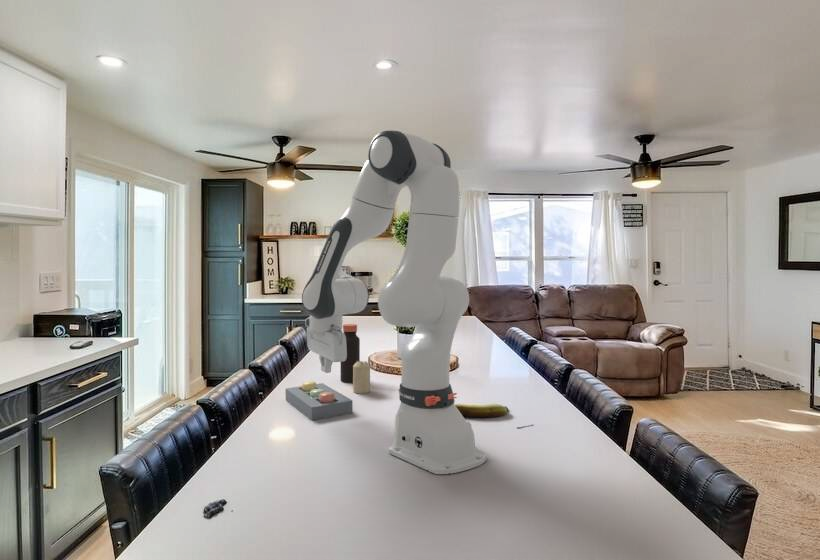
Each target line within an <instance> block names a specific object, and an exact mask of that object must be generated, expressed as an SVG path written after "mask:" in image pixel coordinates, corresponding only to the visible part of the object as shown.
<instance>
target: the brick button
mask: <svg viewBox="0 0 820 560" xmlns="http://www.w3.org/2000/svg"><path fill="white" fill-rule="evenodd" d="M319 402H320V403H321V404H324V403H330V402H334V393H332V392H323V393H320V394H319Z"/></svg>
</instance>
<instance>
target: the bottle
mask: <svg viewBox="0 0 820 560" xmlns="http://www.w3.org/2000/svg"><path fill="white" fill-rule="evenodd" d="M342 329H343V330H342V332H343V333H344V334H345V337H346V346H347V358H346V360H345V361H342V362H340V381H341V383H342V382H343V383H353V365H354V364H355V363H356V362H357V361H361V360H360V359H361V357H360V354H361V353H360V352H361V351H360V347H361V346H360V344H361V343H360V341H361V339H360V337H359V336H358V335H357V332H358V325H357V324H355V323H347V324H342Z"/></svg>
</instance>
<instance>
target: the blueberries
mask: <svg viewBox="0 0 820 560" xmlns="http://www.w3.org/2000/svg"><path fill="white" fill-rule="evenodd" d="M227 503H228V501H226V499H224V498H222V499H220V500H214V501H213V502H209V503H207V504H206V505H205V506H204V508H203V510H202V511H203V513H202V514H203V517H202V518H204V519H209V520H210V519H211V518H213V517H214V516H215V515H218V514H220V513H221V512H224V506H226V505H227Z"/></svg>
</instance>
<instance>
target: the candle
mask: <svg viewBox="0 0 820 560" xmlns="http://www.w3.org/2000/svg"><path fill="white" fill-rule="evenodd" d="M370 391H371V365H370V364H369V362H368V361H367V360H364V361H361V360H360V361H357V362H356V363H355V364H354V365H353V382H352V392H353V393H355V394H367V393H370Z"/></svg>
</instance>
